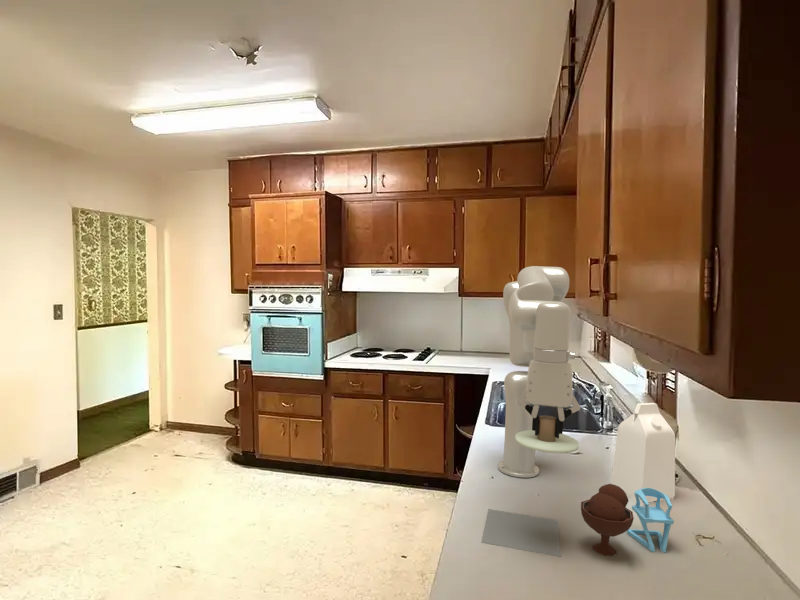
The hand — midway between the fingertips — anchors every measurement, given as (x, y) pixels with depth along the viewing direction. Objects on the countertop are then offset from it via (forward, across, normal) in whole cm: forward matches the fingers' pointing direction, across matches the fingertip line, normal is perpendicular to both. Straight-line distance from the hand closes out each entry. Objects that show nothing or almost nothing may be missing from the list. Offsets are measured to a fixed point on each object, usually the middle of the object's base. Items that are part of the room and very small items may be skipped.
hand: (546, 434), depth 112 cm
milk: (+25, -28, -37) cm, 52 cm away
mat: (+24, +5, 0) cm, 25 cm away
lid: (+2, 0, 0) cm, 2 cm away
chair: (+25, -24, -7) cm, 35 cm away
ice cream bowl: (+25, -13, +1) cm, 28 cm away
